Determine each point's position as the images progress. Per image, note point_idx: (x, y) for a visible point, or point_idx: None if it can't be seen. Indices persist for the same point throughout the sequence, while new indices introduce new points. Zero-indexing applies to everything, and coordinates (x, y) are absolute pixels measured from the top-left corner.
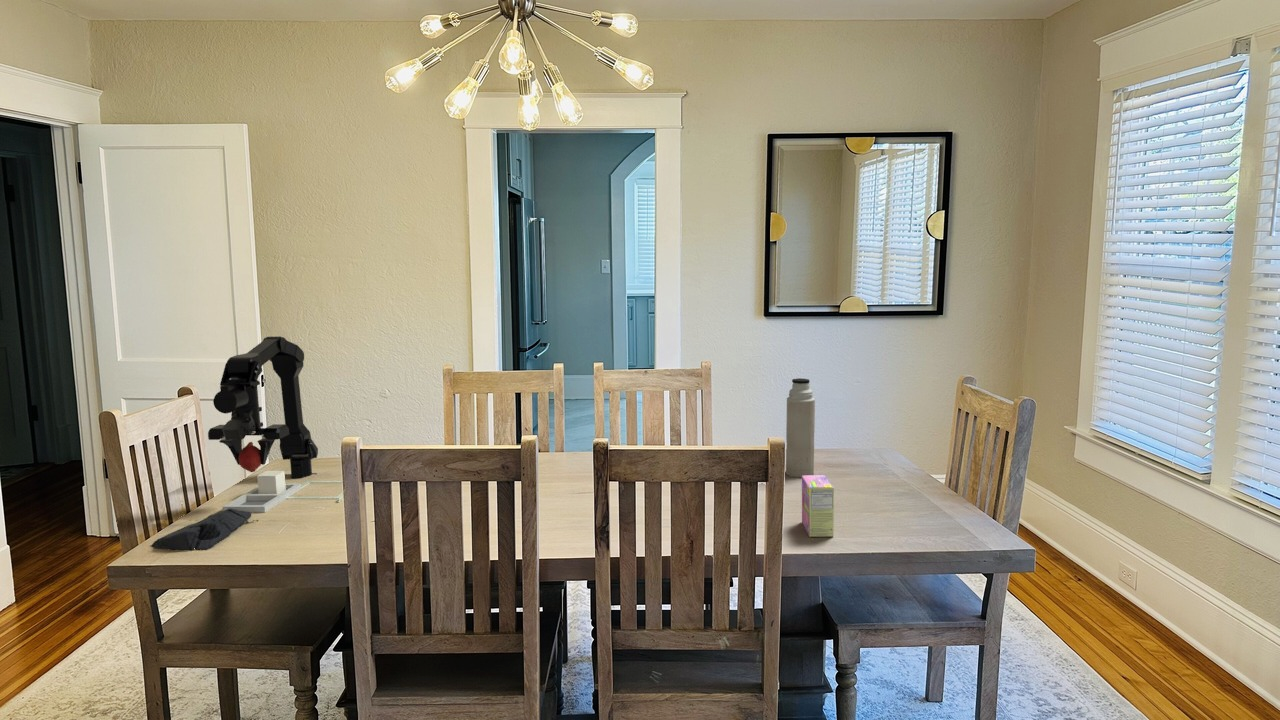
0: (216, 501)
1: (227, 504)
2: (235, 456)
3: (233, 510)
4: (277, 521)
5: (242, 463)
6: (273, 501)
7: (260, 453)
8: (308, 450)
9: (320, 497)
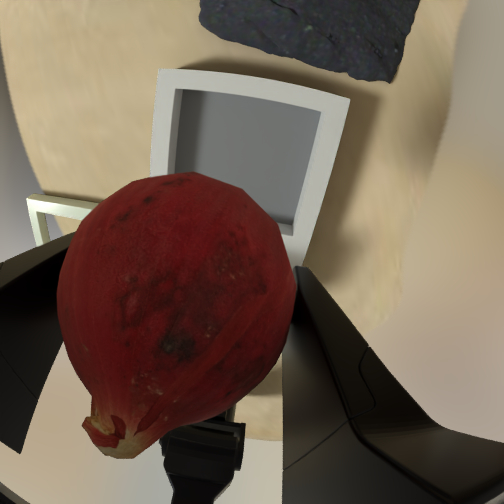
0: (394, 271)
1: (338, 126)
2: (329, 314)
3: (267, 4)
4: (117, 24)
5: (224, 186)
6: (152, 139)
7: (32, 271)
8: None
9: (64, 211)
